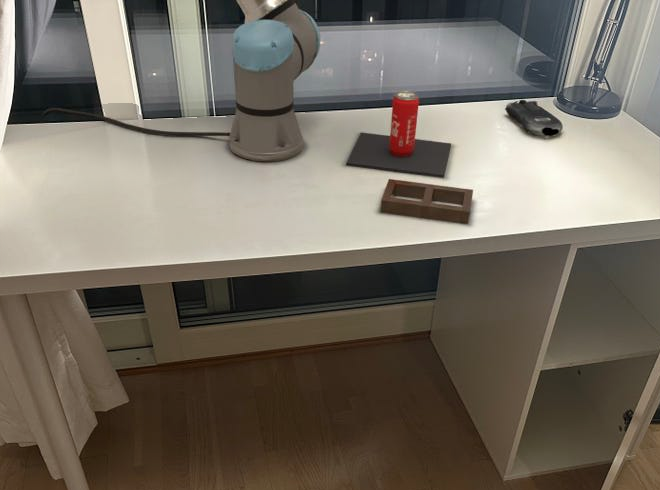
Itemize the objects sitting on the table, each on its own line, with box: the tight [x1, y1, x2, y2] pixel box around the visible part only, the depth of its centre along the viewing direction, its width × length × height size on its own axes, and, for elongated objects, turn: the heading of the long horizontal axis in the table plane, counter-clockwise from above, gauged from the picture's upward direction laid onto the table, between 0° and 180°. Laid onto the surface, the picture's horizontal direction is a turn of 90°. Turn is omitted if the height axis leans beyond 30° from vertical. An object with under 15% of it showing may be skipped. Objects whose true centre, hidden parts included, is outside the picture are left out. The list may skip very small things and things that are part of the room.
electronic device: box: [504, 99, 564, 139], centre depth 162 cm, size 9×6×15 cm
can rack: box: [379, 178, 474, 225], centre depth 130 cm, size 16×9×2 cm, turn 79°
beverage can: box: [389, 90, 420, 157], centre depth 144 cm, size 5×5×12 cm
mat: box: [345, 131, 452, 179], centre depth 148 cm, size 20×16×1 cm
